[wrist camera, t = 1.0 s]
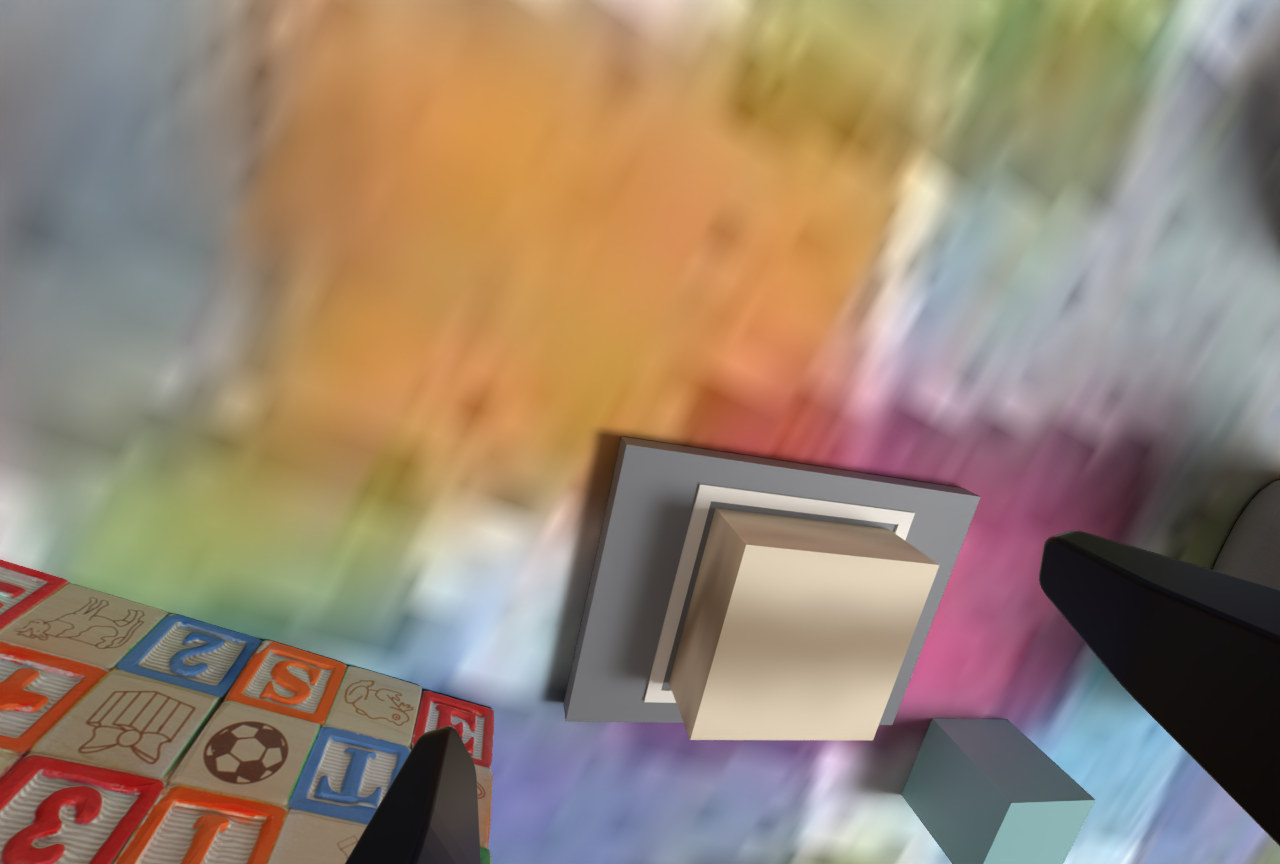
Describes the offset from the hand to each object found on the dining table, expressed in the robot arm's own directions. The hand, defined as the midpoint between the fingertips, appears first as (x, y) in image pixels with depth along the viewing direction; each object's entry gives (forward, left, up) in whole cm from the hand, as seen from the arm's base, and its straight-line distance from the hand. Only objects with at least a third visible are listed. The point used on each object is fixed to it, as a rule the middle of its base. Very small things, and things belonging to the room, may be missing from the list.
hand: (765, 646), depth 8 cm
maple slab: (-7, -9, -12) cm, 17 cm away
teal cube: (-16, -23, -14) cm, 31 cm away
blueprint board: (-7, -9, -13) cm, 17 cm away
